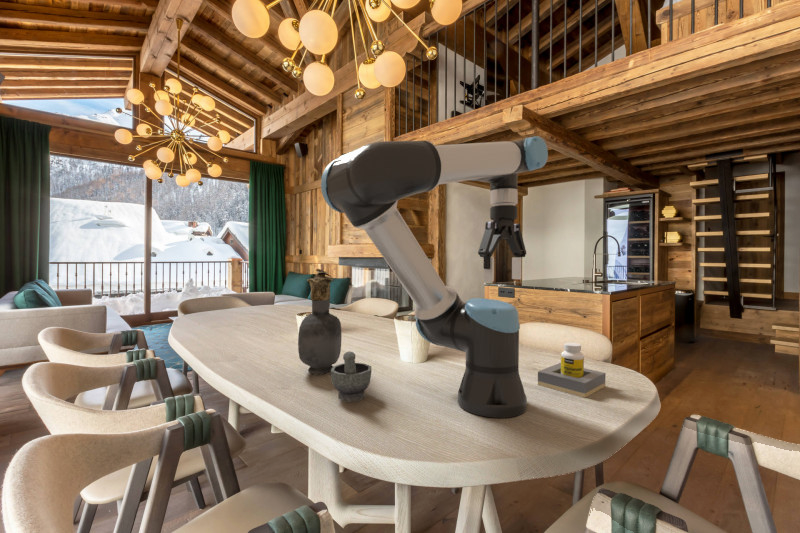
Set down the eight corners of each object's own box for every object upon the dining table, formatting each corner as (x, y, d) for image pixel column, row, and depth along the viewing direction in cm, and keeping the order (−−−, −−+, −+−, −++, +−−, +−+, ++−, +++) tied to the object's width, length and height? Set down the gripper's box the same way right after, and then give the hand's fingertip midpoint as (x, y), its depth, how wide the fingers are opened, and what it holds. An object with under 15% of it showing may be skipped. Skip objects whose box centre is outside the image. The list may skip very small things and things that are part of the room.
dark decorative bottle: (294, 379, 103) (294, 269, 102) (311, 360, 122) (311, 267, 121) (334, 379, 102) (334, 269, 102) (345, 360, 122) (344, 267, 121)
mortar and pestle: (334, 389, 95) (334, 342, 94) (372, 389, 95) (371, 342, 95) (327, 407, 83) (327, 354, 83) (369, 407, 84) (369, 353, 83)
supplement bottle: (561, 383, 96) (561, 345, 96) (560, 377, 101) (560, 341, 101) (584, 386, 94) (585, 347, 94) (582, 379, 99) (582, 342, 99)
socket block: (584, 397, 89) (584, 383, 89) (537, 384, 98) (537, 371, 98) (605, 386, 97) (605, 372, 97) (560, 375, 106) (560, 362, 106)
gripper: (516, 210, 118) (516, 277, 119) (465, 203, 102) (464, 281, 103) (538, 208, 113) (538, 278, 113) (487, 200, 96) (487, 282, 97)
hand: (503, 280), depth 108 cm, fingers open, 13 cm apart
